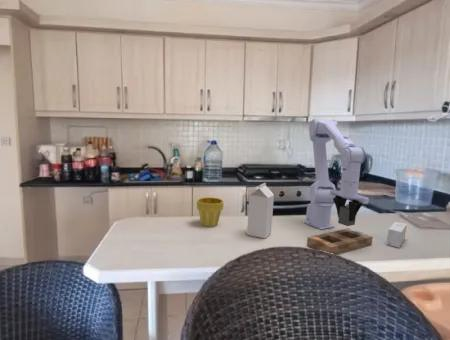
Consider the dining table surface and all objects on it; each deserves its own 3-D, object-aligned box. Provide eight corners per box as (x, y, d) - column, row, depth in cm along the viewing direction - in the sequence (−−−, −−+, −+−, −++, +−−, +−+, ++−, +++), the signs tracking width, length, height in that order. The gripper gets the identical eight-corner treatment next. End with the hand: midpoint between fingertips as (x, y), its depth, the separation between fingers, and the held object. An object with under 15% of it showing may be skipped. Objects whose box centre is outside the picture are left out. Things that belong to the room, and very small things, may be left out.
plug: (338, 222, 114) (340, 203, 113) (344, 221, 117) (347, 203, 116) (347, 226, 111) (350, 206, 110) (354, 224, 113) (357, 205, 112)
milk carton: (271, 233, 120) (274, 183, 117) (265, 239, 114) (269, 186, 111) (253, 229, 123) (256, 181, 120) (246, 235, 117) (249, 184, 114)
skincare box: (405, 239, 121) (399, 248, 111) (392, 236, 123) (385, 245, 114) (407, 223, 120) (401, 231, 110) (394, 221, 122) (388, 228, 113)
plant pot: (206, 230, 120) (207, 204, 119) (191, 222, 128) (192, 198, 126) (227, 225, 126) (228, 201, 125) (212, 218, 134) (213, 196, 133)
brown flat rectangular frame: (306, 245, 109) (307, 236, 109) (347, 235, 121) (348, 227, 121) (330, 256, 101) (331, 246, 101) (371, 244, 113) (372, 235, 112)
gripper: (325, 178, 115) (322, 215, 117) (361, 186, 103) (357, 226, 105) (337, 177, 119) (334, 212, 121) (374, 184, 107) (369, 223, 109)
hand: (345, 219), depth 113 cm, fingers closed on plug, 4 cm apart
